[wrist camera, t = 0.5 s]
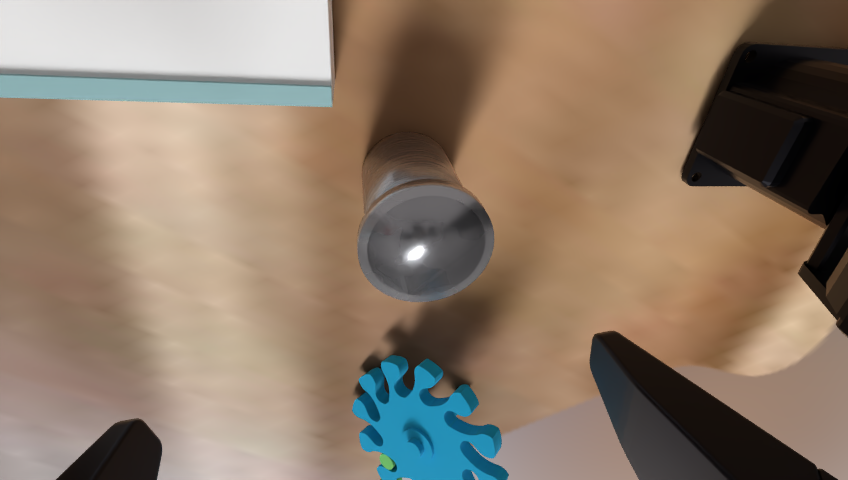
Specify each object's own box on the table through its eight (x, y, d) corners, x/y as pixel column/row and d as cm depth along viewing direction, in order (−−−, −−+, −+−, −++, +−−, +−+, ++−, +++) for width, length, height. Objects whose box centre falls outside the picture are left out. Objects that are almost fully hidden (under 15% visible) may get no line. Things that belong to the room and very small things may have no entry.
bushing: (462, 126, 18) (505, 186, 13) (450, 218, 21) (483, 299, 16) (354, 123, 18) (356, 186, 13) (355, 220, 20) (358, 304, 15)
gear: (392, 330, 22) (538, 493, 19) (450, 292, 27) (574, 419, 24) (318, 428, 28) (421, 564, 25) (377, 383, 33) (469, 493, 30)
